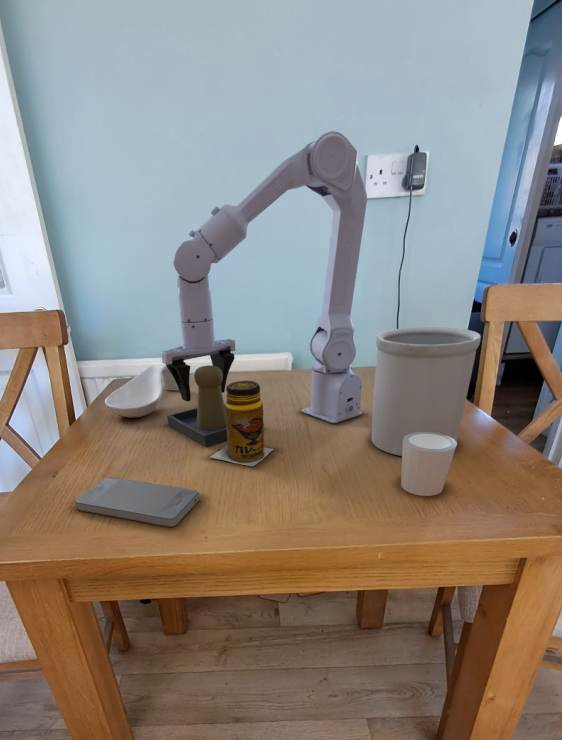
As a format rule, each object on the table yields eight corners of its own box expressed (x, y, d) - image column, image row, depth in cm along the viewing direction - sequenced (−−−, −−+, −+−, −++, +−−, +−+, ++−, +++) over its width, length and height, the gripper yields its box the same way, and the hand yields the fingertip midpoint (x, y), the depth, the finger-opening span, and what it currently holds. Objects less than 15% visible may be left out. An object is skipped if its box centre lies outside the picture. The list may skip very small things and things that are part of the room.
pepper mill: (214, 432, 86) (209, 372, 80) (190, 426, 89) (184, 368, 83) (234, 422, 90) (231, 364, 84) (210, 417, 93) (206, 361, 87)
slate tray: (260, 429, 87) (260, 419, 86) (205, 446, 82) (204, 435, 81) (219, 411, 98) (219, 401, 96) (168, 425, 92) (166, 415, 91)
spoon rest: (148, 425, 92) (142, 390, 89) (97, 421, 96) (89, 387, 92) (194, 390, 111) (191, 360, 108) (150, 388, 115) (146, 358, 111)
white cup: (407, 471, 70) (414, 427, 66) (454, 483, 66) (464, 437, 62) (388, 489, 66) (394, 443, 62) (437, 503, 62) (447, 455, 58)
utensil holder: (351, 433, 84) (359, 331, 75) (421, 421, 87) (437, 322, 78) (398, 466, 71) (414, 349, 62) (478, 450, 75) (505, 337, 66)
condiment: (254, 467, 74) (251, 393, 67) (209, 458, 77) (203, 387, 71) (274, 450, 79) (273, 380, 73) (231, 442, 83) (227, 375, 77)
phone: (108, 483, 71) (107, 476, 71) (202, 498, 66) (201, 490, 65) (74, 509, 65) (72, 501, 64) (174, 528, 60) (173, 519, 59)
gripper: (218, 312, 88) (223, 383, 95) (149, 323, 81) (160, 399, 88) (240, 316, 83) (243, 391, 90) (168, 327, 76) (178, 408, 83)
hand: (203, 395), depth 88 cm, fingers open, 7 cm apart
